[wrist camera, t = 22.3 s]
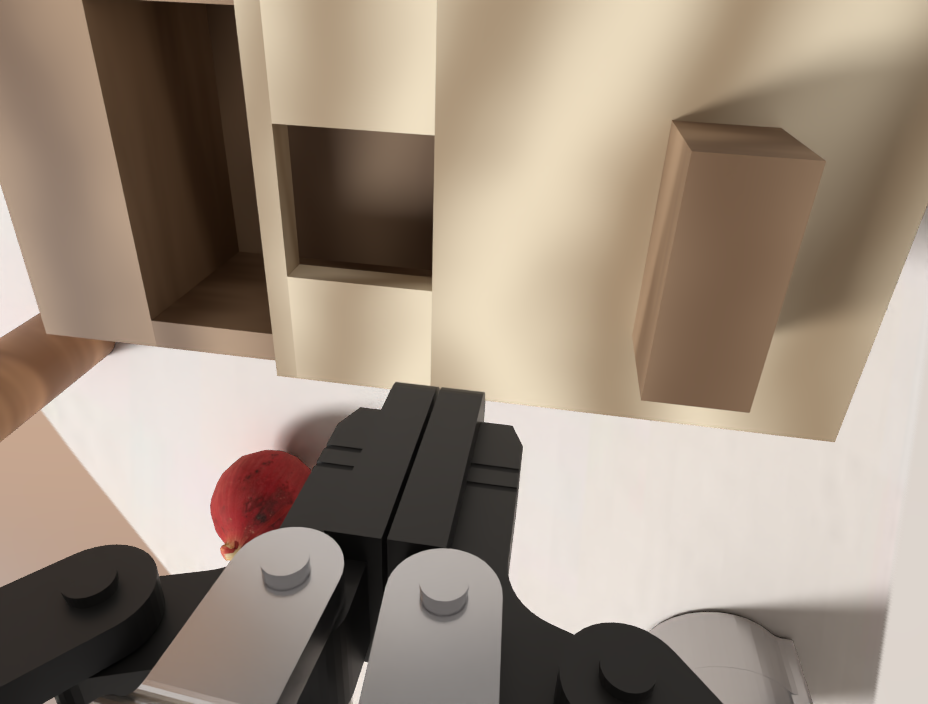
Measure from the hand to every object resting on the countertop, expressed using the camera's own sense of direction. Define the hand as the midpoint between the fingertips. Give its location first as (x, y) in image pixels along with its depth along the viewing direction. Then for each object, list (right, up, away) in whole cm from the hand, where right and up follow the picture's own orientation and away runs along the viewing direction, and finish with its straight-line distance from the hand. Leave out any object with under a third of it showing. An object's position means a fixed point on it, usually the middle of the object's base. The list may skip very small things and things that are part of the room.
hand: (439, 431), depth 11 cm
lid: (+4, +6, +11) cm, 13 cm away
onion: (-10, -5, +30) cm, 33 cm away
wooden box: (-6, +11, +20) cm, 24 cm away
